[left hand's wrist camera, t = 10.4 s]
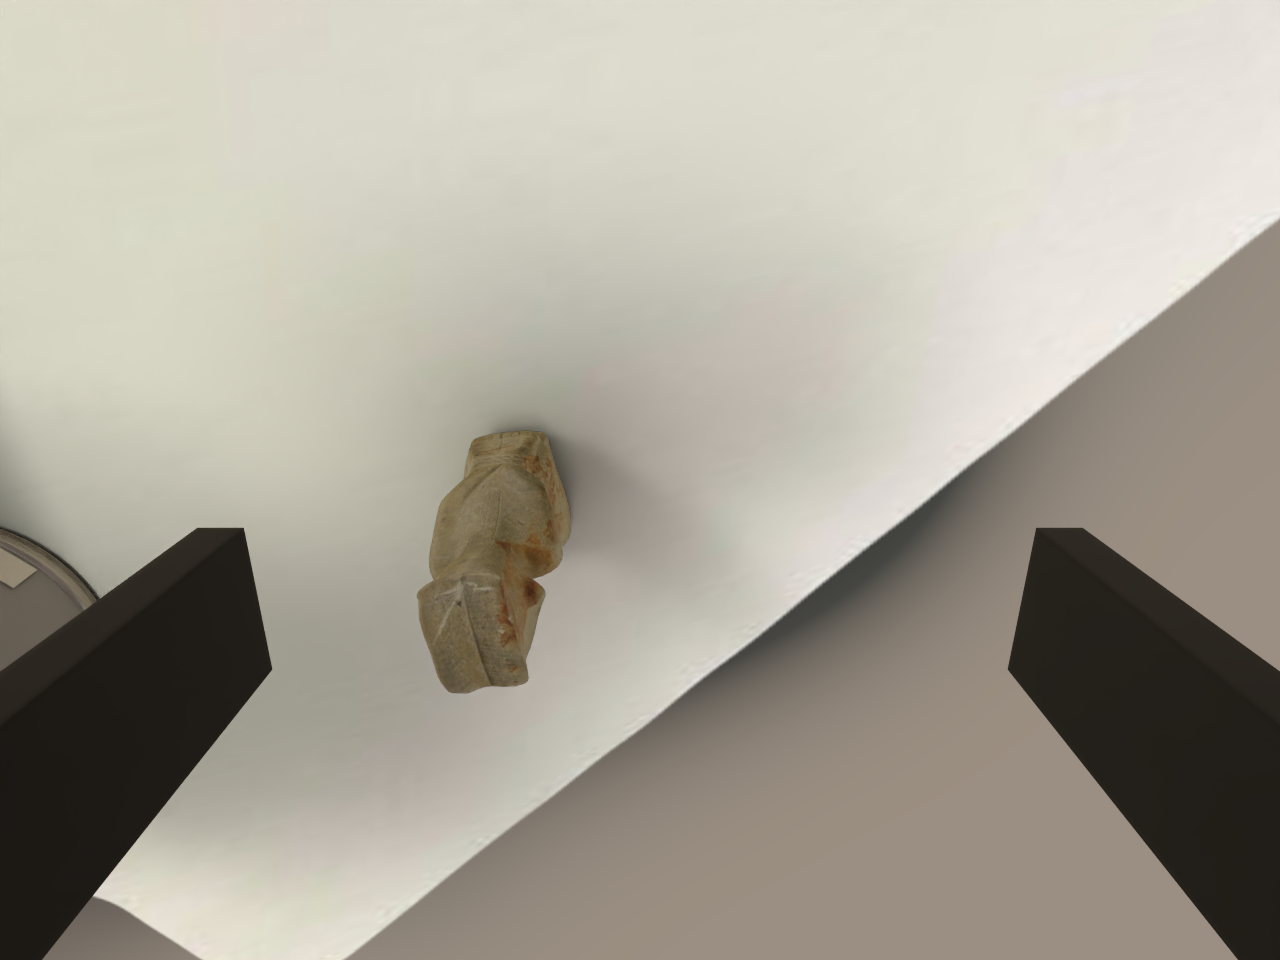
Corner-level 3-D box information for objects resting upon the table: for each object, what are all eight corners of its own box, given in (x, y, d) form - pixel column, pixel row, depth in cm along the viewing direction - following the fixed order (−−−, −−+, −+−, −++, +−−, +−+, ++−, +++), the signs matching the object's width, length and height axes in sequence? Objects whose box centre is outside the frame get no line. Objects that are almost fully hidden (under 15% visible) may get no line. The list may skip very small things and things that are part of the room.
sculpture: (482, 544, 42) (403, 714, 28) (461, 421, 40) (363, 540, 25) (585, 536, 42) (557, 703, 28) (570, 412, 39) (531, 528, 25)
